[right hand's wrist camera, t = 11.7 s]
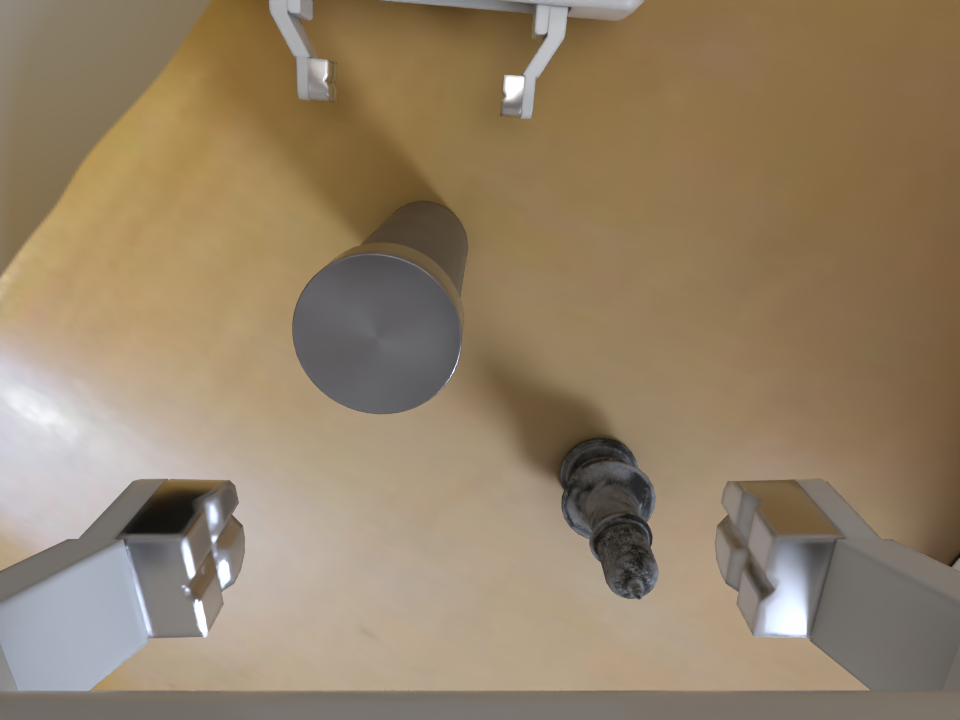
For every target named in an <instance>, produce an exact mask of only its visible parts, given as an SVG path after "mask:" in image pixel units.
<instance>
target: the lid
mask: <svg viewBox="0 0 960 720" xmlns="http://www.w3.org/2000/svg"><path fill="white" fill-rule="evenodd" d="M463 326H464V316H463V308H462V303H461V300H460V297H459V294H458V292H457V290H456V288H455V285H454V284H453V282H452V281H451V279H450V278H449V276H448V275H447V274H446V272H445V271H444V270H443V269H442V268H441V267H440V266H439V265H438V264H437V263H436V262H435V261H433V260H432V259H431V258H429V257H428V256H426V255H425V254H423V253H421V252H419V251H417V250H415V249H412V248H410V247H407V246H404V245H400V244H395V243H385V242H381V243H369V244H363V245H360V246H357V247H353V248H351V249H349V250H347V251H345V252H343V253H342V254H340V255H339V256H337V257H336V258H334V259H333V260H332V261H331V262H330V263H329V264H327V265H326V266H325V267H324V268H323V269H322V270H321V271H319V272H318V273H317V274H316V275H315V276H314V277H313V278H312V279H311V280H310V281H309V283H308V284H307V285H306V287H305V288H304V290H303V291H302V293H301V295H300V297H299V299H298V302H297V304H296V308H295V311H294V316H293V324H292V330H293V341H294V347H295V350H296V354H297V356H298V359H299V361H300V363H301V366H302V367H303V369H304V371H305V372H306V374H307V375H308V377H309V378H310V379H311V381H312V382H313V383H314V384H315V385H316V386H317V387H318V388H319V389H320V390H321V391H322V392H323V393H325V394H326V395H327V396H328V397H330V398H331V399H333V400H334V401H336V402H338V403H340V404H342V405H344V406H346V407H348V408H351V409H354V410H357V411H361V412H366V413H373V414H392V413H399V412H403V411H407V410H410V409H413V408H415V407H417V406H420V405H422V404H423V403H425V402H427V401H428V400H430V399H431V398H432V397H434V396H435V395H436V394H437V393H438V392H439V391H440V390H441V389H442V388H443V387H444V386H445V385H446V384H447V382H448V381H449V380H450V378H451V376H452V374H453V373H454V371H455V369H456V366H457V363H458V361H459V357H460V352H461V345H462V336H463Z"/></svg>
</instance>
